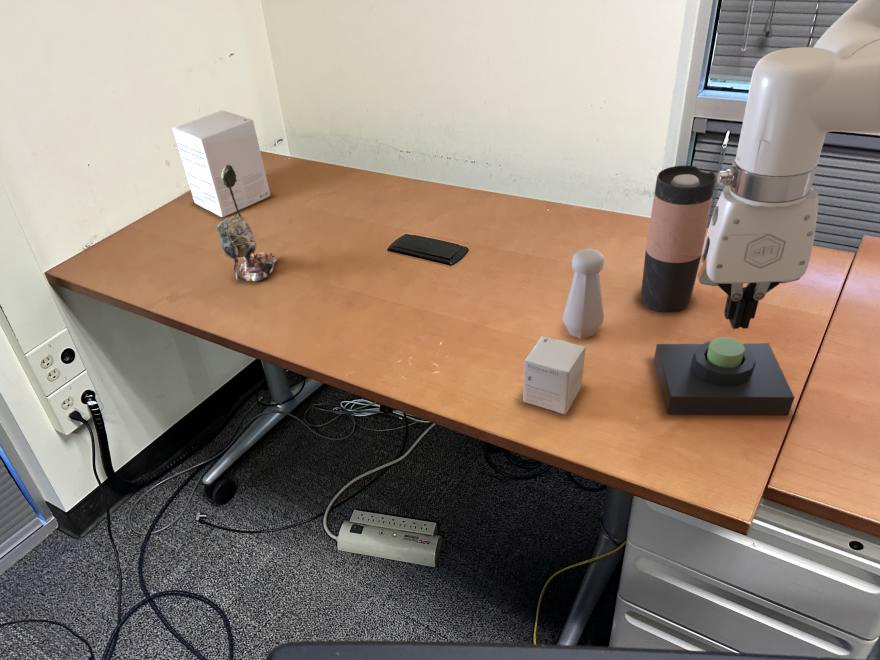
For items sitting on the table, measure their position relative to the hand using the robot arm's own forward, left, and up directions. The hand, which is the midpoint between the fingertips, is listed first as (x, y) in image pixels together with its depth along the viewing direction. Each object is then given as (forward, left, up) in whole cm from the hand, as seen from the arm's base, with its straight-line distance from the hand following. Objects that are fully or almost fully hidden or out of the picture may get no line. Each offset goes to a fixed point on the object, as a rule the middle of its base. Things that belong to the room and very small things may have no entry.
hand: (737, 322), depth 83 cm
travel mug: (+3, -21, -10) cm, 24 cm away
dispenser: (0, 0, -10) cm, 10 cm away
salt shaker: (+16, -13, -10) cm, 23 cm away
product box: (+21, +2, -10) cm, 24 cm away
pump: (0, 0, -6) cm, 6 cm away
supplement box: (+89, -66, -10) cm, 112 cm away
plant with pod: (+74, -33, -10) cm, 82 cm away
